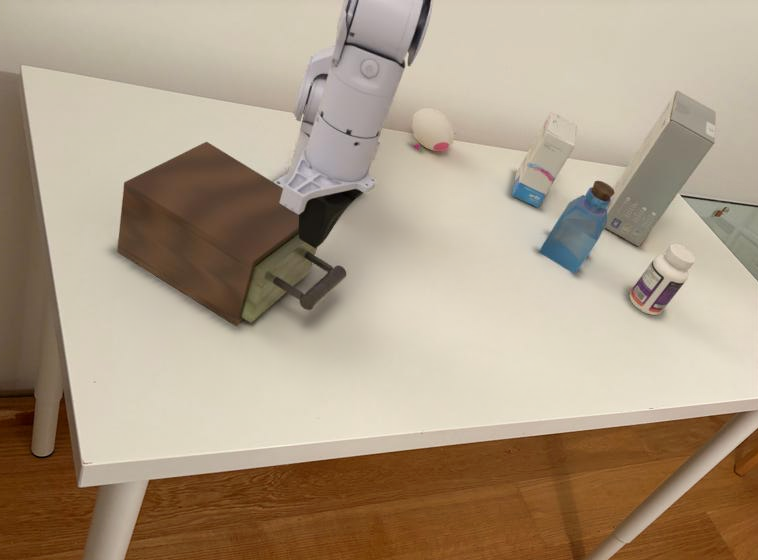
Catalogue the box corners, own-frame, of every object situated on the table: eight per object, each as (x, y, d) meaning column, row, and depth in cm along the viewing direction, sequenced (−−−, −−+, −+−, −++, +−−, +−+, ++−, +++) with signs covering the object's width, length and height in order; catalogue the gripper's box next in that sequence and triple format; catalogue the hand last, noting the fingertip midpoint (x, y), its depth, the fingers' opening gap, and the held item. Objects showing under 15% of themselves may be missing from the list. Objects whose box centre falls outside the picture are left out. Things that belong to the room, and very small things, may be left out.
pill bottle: (661, 302, 108) (700, 253, 102) (659, 321, 104) (700, 271, 98) (629, 285, 108) (667, 234, 102) (626, 304, 104) (664, 252, 98)
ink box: (539, 209, 114) (576, 145, 106) (510, 196, 113) (546, 130, 105) (543, 185, 120) (578, 122, 112) (516, 172, 120) (549, 108, 112)
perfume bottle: (585, 256, 109) (628, 191, 101) (575, 274, 104) (619, 207, 97) (550, 234, 110) (590, 168, 102) (538, 251, 105) (579, 184, 97)
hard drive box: (639, 249, 117) (715, 143, 104) (597, 226, 117) (668, 118, 104) (648, 209, 129) (717, 110, 116) (610, 189, 129) (675, 87, 116)
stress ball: (441, 173, 117) (469, 141, 116) (428, 157, 109) (457, 123, 108) (409, 145, 118) (436, 113, 118) (393, 127, 111) (422, 93, 110)
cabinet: (300, 271, 82) (320, 210, 77) (235, 326, 73) (253, 262, 67) (194, 205, 83) (206, 141, 78) (116, 251, 74) (123, 182, 68)
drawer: (344, 295, 81) (363, 248, 76) (290, 348, 72) (308, 299, 68) (209, 211, 82) (219, 161, 78) (140, 253, 73) (147, 200, 69)
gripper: (350, 171, 57) (306, 295, 66) (422, 118, 68) (377, 231, 76) (275, 125, 57) (242, 255, 66) (359, 81, 68) (321, 197, 77)
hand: (310, 240), depth 71 cm, fingers closed
